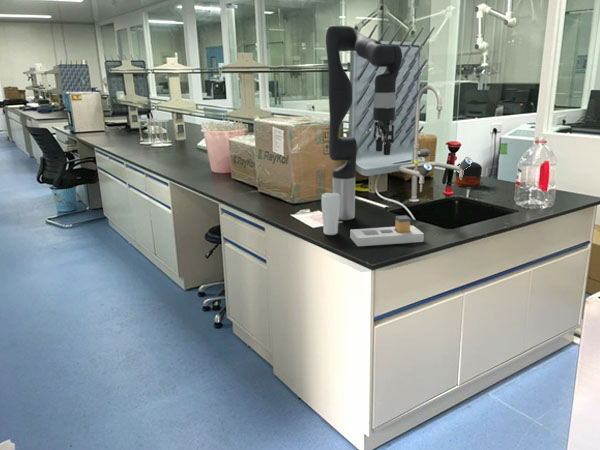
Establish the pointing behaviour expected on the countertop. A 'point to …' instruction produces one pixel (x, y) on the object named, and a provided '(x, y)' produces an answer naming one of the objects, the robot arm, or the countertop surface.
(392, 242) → the pdu strip
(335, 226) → the drinking glass
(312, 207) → the countertop surface
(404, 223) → the plug
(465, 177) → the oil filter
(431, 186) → the countertop surface
